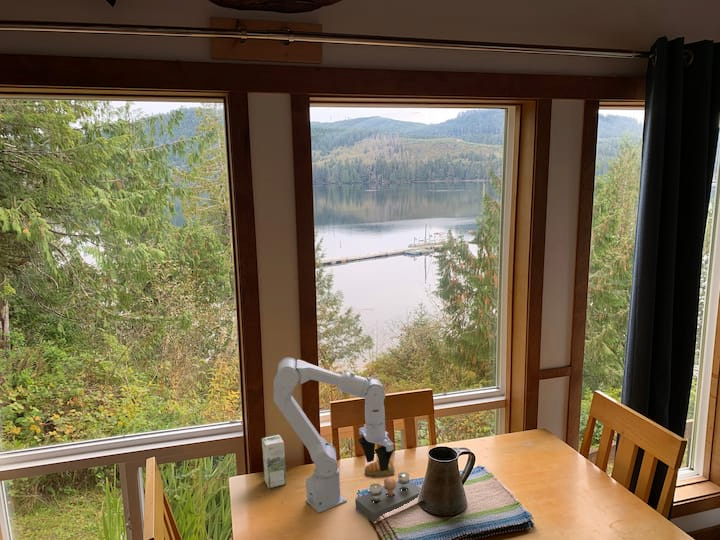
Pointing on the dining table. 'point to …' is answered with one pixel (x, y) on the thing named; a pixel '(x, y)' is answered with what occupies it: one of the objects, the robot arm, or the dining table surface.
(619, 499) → the dining table surface
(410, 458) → the dining table surface
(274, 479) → the syrup box
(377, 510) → the knob panel
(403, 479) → the far knob
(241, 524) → the dining table surface
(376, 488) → the near knob
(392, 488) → the middle knob
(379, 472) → the pastry
